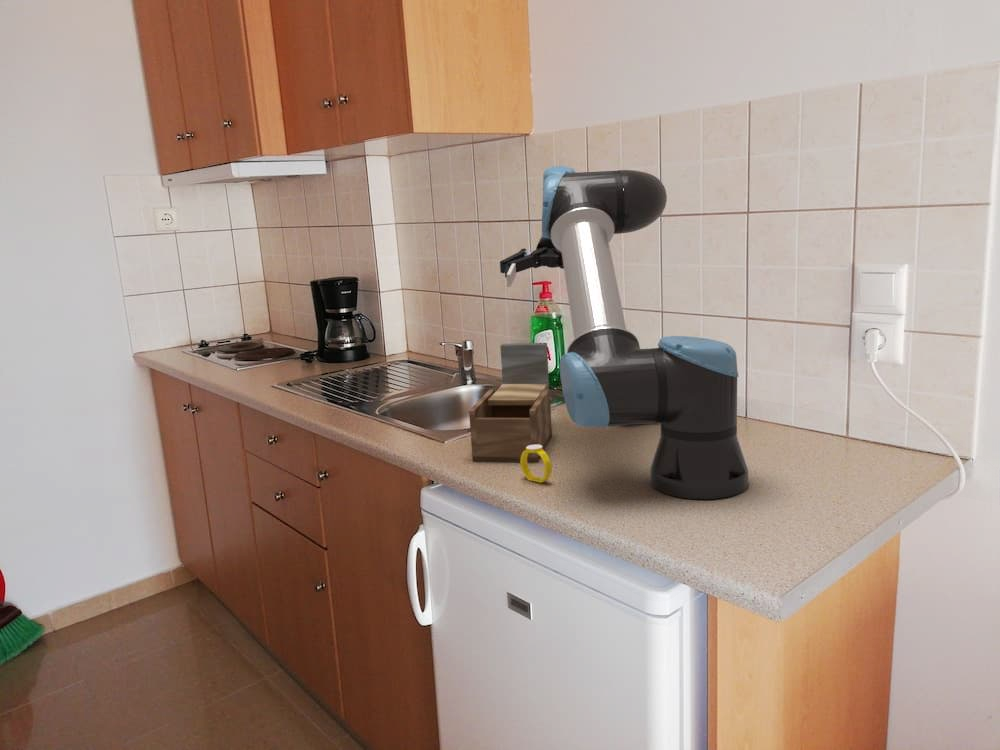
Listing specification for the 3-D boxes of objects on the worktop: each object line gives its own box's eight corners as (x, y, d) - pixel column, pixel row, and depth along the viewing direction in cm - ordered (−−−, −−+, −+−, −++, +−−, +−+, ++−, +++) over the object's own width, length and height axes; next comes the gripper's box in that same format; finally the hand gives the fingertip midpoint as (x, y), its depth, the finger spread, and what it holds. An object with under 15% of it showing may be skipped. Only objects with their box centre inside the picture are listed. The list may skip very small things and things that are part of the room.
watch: (555, 482, 130) (554, 447, 129) (544, 487, 128) (542, 452, 127) (529, 474, 134) (527, 441, 133) (518, 479, 132) (516, 445, 131)
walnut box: (537, 462, 140) (535, 410, 138) (472, 461, 143) (469, 410, 141) (551, 435, 155) (549, 388, 153) (492, 435, 158) (489, 389, 156)
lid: (536, 405, 147) (533, 357, 145) (488, 405, 149) (485, 358, 147) (549, 386, 161) (546, 342, 159) (505, 386, 163) (502, 343, 161)
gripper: (608, 263, 181) (601, 299, 163) (502, 261, 186) (483, 296, 168) (609, 232, 178) (601, 265, 159) (500, 230, 182) (481, 263, 164)
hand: (540, 281), depth 163 cm, fingers open, 13 cm apart
